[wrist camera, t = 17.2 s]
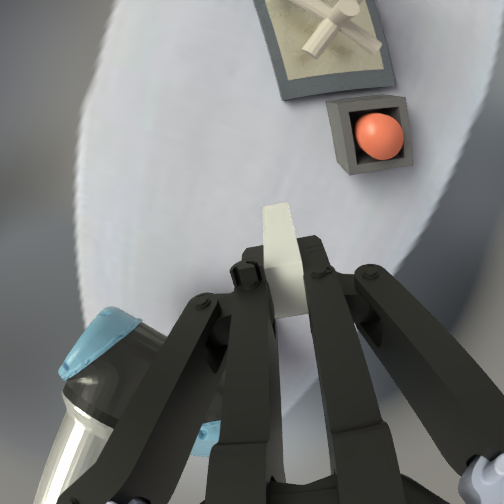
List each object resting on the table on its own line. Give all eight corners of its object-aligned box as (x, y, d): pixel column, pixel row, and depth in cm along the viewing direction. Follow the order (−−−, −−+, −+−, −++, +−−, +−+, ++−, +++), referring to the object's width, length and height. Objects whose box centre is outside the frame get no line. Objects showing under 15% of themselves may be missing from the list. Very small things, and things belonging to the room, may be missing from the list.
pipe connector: (382, 26, 23) (421, 10, 15) (339, 84, 28) (368, 83, 19) (309, -22, 21) (325, -57, 12) (263, 36, 26) (263, 15, 17)
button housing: (392, 153, 33) (412, 165, 28) (336, 161, 35) (349, 175, 29) (384, 94, 29) (405, 97, 24) (325, 101, 31) (337, 103, 26)
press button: (394, 150, 29) (405, 157, 27) (356, 156, 30) (364, 162, 27) (389, 110, 27) (400, 112, 24) (349, 114, 27) (357, 117, 25)
